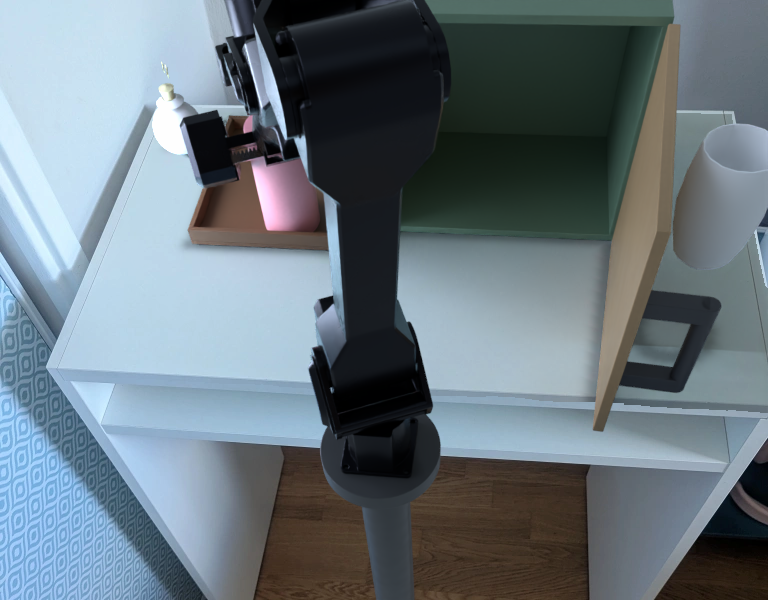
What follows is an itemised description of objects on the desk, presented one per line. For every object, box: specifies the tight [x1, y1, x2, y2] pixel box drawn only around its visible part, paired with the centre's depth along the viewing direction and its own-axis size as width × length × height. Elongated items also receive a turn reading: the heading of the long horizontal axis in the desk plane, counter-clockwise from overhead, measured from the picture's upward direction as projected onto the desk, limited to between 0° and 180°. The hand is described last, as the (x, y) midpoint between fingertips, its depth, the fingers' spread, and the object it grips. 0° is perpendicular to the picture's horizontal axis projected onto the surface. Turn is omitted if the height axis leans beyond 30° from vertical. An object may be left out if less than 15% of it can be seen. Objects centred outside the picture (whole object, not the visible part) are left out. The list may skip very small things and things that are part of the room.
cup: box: [672, 122, 768, 271], centre depth 68 cm, size 7×7×21 cm
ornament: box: [152, 61, 199, 155], centre depth 92 cm, size 6×7×10 cm
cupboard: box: [400, 0, 675, 242], centre depth 80 cm, size 18×26×24 cm
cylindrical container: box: [243, 115, 320, 232], centre depth 83 cm, size 6×6×12 cm
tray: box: [187, 114, 329, 251], centre depth 91 cm, size 21×17×2 cm
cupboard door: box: [592, 23, 722, 433], centre depth 67 cm, size 7×26×23 cm, turn 168°
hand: (278, 151), depth 82 cm, fingers open, 9 cm apart
